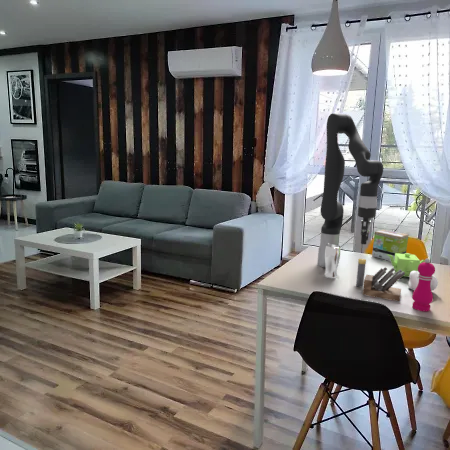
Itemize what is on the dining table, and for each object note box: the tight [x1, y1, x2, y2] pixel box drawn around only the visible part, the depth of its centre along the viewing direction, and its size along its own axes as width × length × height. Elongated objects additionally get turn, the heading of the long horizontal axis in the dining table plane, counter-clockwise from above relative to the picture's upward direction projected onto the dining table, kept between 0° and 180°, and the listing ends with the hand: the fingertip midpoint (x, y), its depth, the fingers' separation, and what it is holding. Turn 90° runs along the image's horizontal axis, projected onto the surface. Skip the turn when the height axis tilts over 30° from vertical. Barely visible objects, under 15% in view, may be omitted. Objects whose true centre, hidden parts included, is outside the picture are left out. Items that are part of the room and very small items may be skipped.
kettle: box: [386, 252, 425, 279], centre depth 201 cm, size 15×14×11 cm
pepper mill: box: [411, 258, 436, 312], centre depth 160 cm, size 7×7×20 cm
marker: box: [355, 258, 367, 288], centre depth 184 cm, size 3×3×12 cm
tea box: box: [371, 229, 409, 262], centre depth 231 cm, size 15×10×15 cm, turn 43°
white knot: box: [407, 271, 439, 292], centre depth 181 cm, size 11×12×9 cm
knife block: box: [362, 266, 405, 302], centre depth 174 cm, size 15×9×11 cm, turn 65°
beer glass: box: [323, 244, 341, 280], centre depth 195 cm, size 7×7×15 cm
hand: (364, 242), depth 187 cm, fingers open, 8 cm apart
